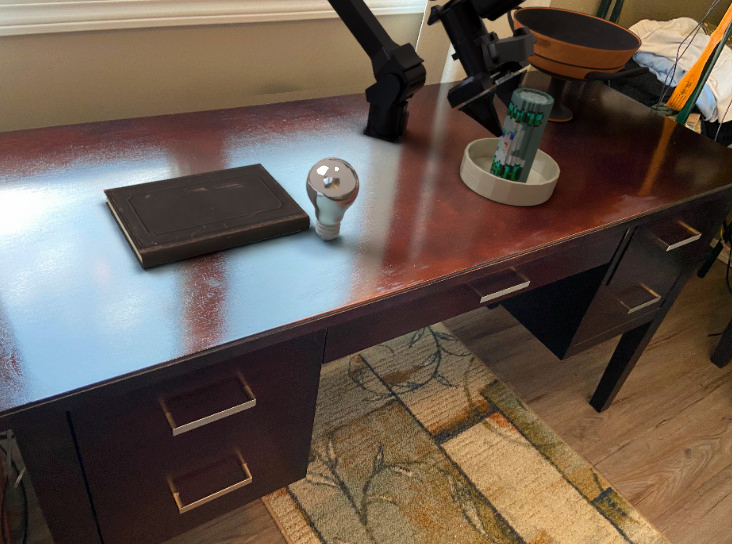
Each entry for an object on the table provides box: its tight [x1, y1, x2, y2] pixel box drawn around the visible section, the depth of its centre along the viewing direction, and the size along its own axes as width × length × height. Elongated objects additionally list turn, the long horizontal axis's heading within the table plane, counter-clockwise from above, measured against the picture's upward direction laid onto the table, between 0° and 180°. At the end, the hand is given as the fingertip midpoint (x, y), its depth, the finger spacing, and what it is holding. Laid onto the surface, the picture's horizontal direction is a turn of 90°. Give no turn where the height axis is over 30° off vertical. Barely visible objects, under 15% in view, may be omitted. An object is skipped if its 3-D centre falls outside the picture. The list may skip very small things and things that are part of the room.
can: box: [489, 87, 554, 183], centre depth 99 cm, size 6×6×15 cm
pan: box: [459, 137, 561, 207], centre depth 103 cm, size 16×16×4 cm
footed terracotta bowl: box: [506, 5, 651, 122], centre depth 126 cm, size 36×26×18 cm
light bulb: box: [305, 156, 360, 241], centre depth 80 cm, size 7×7×12 cm
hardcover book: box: [103, 163, 311, 269], centre depth 83 cm, size 16×23×2 cm
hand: (512, 128), depth 99 cm, fingers open, 9 cm apart
